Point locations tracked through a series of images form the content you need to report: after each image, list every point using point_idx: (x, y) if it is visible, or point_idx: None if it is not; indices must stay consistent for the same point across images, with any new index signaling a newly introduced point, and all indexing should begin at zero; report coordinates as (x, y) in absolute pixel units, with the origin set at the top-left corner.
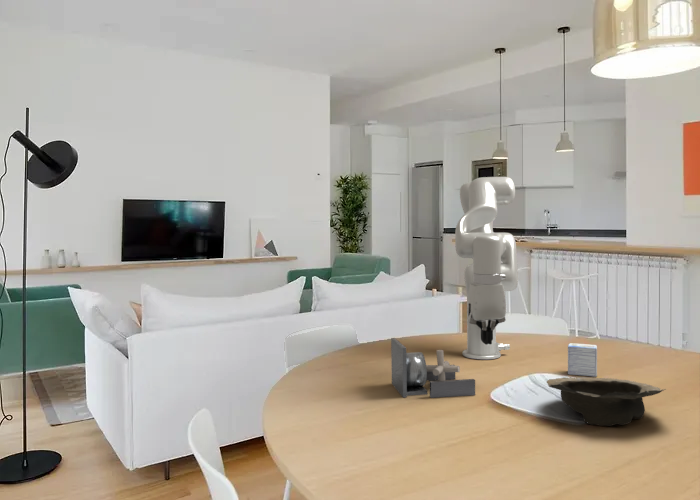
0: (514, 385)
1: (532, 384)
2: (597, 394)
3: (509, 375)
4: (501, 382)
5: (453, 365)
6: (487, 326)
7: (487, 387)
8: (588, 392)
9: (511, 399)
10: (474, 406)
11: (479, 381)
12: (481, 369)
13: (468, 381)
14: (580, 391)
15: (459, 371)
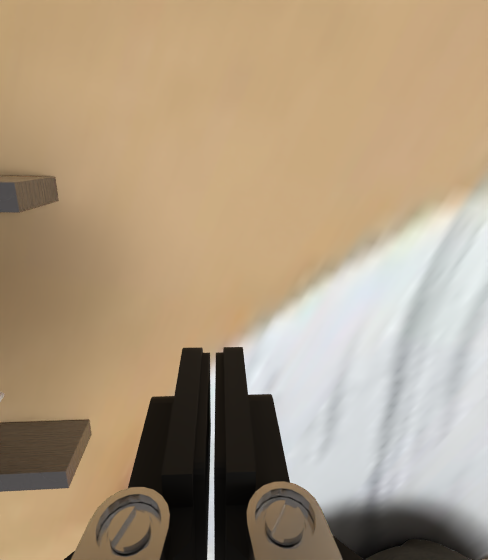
0: (305, 345)
1: (384, 345)
2: (460, 558)
3: (375, 188)
4: (273, 295)
5: (7, 202)
6: (236, 556)
7: (179, 352)
8: (442, 558)
9: None
10: (54, 528)
11: (177, 260)
12: (290, 7)
13: (36, 485)
14: (421, 558)
15: (3, 396)
